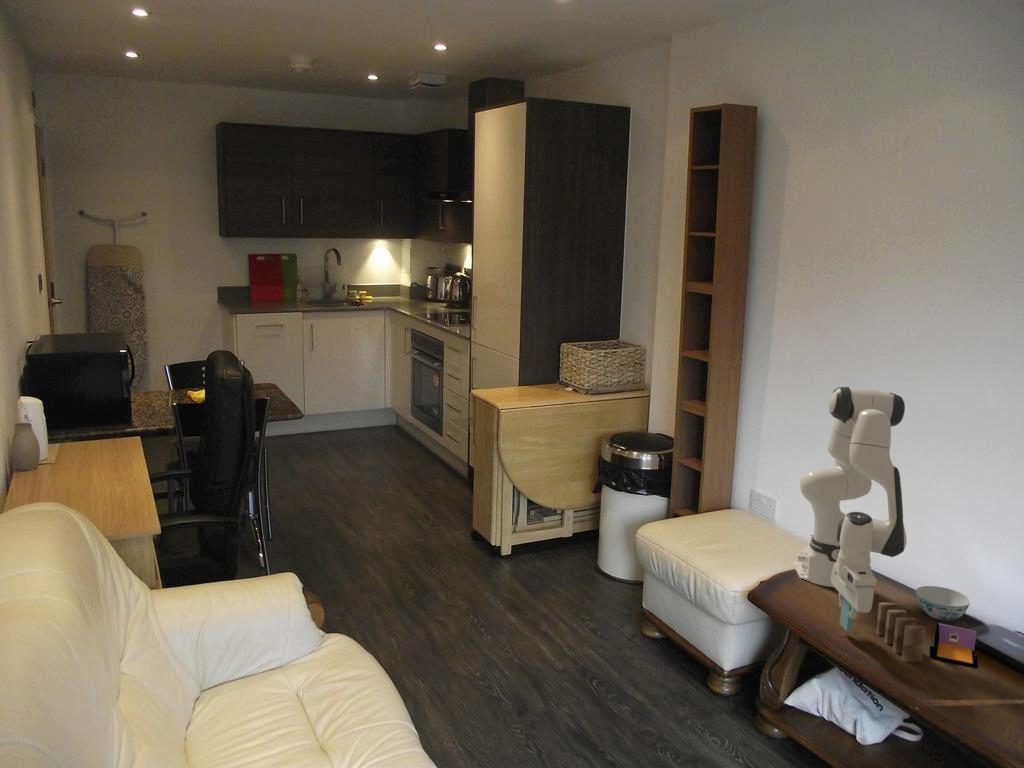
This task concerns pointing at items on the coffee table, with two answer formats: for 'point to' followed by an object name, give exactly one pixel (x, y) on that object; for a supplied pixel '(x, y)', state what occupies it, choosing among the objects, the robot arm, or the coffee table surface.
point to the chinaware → (942, 602)
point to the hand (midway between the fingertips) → (847, 612)
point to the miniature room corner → (954, 646)
